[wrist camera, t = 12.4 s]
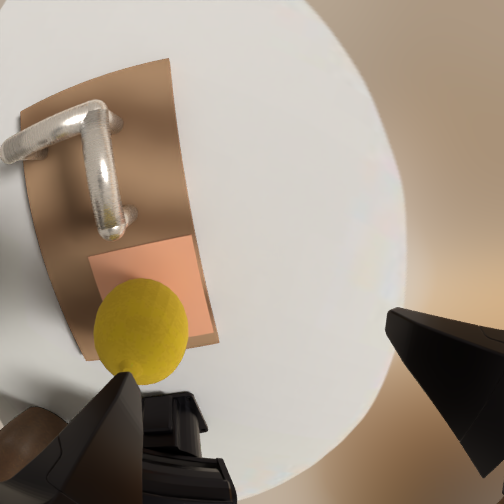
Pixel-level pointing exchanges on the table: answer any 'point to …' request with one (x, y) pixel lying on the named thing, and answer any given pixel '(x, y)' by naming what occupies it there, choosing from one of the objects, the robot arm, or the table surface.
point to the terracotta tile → (159, 274)
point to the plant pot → (26, 439)
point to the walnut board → (129, 181)
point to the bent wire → (95, 158)
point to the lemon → (141, 330)
